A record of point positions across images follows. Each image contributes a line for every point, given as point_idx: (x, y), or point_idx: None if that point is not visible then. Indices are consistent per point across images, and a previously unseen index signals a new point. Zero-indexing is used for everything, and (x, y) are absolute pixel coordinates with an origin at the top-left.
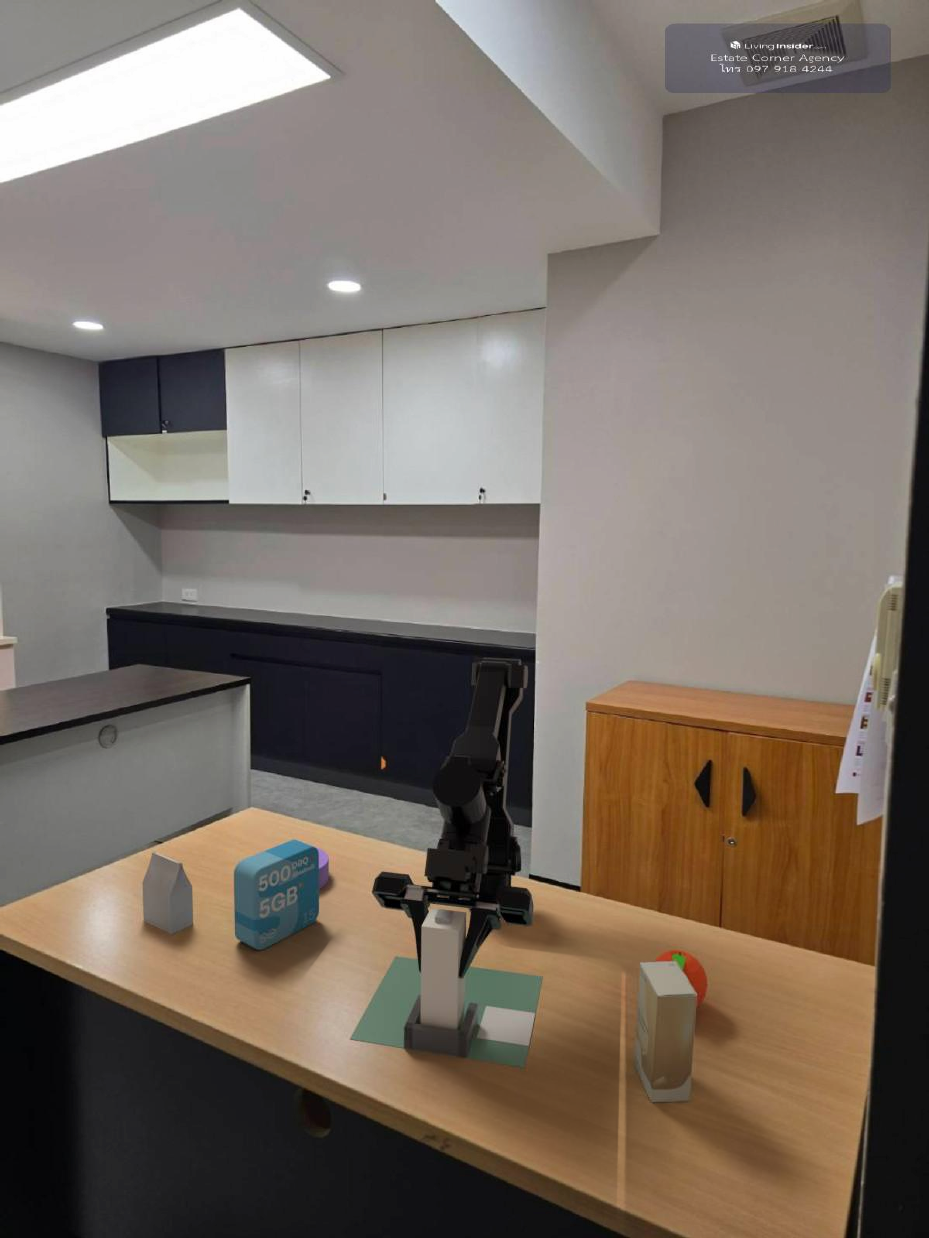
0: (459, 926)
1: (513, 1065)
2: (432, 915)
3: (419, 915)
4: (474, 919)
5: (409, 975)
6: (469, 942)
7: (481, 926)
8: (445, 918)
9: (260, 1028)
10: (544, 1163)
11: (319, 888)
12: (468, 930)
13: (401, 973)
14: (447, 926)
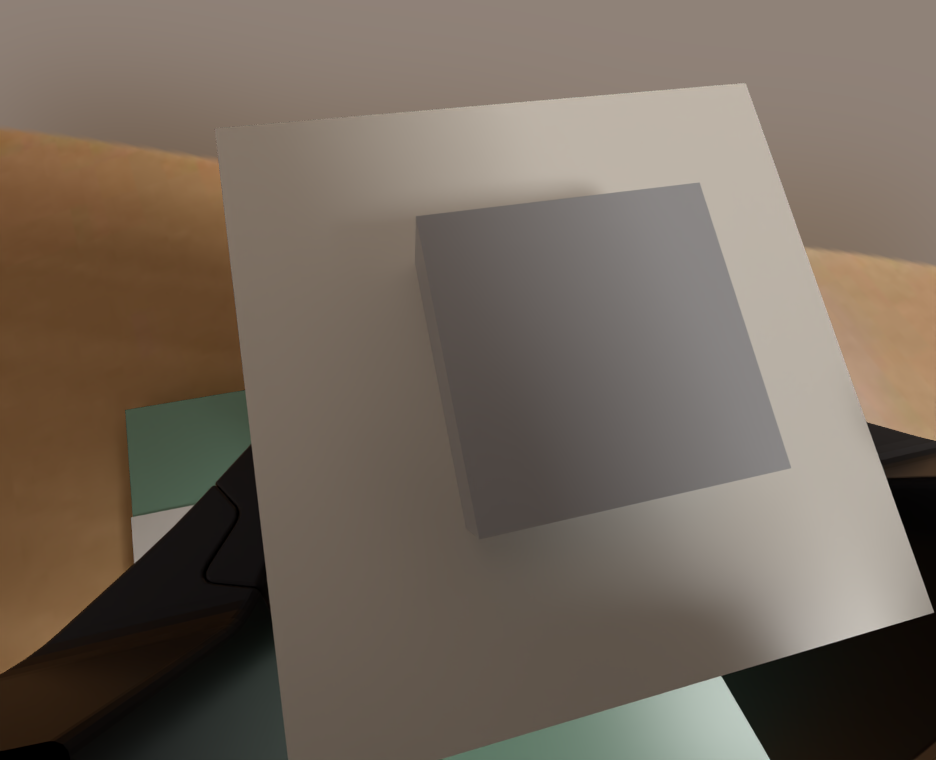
0: (240, 244)
1: (165, 405)
2: (778, 387)
3: (927, 463)
4: (94, 673)
5: (698, 714)
6: (255, 490)
7: (33, 662)
8: (511, 213)
9: (892, 302)
10: (25, 150)
11: None
12: (260, 564)
13: (730, 710)
14: (426, 187)
